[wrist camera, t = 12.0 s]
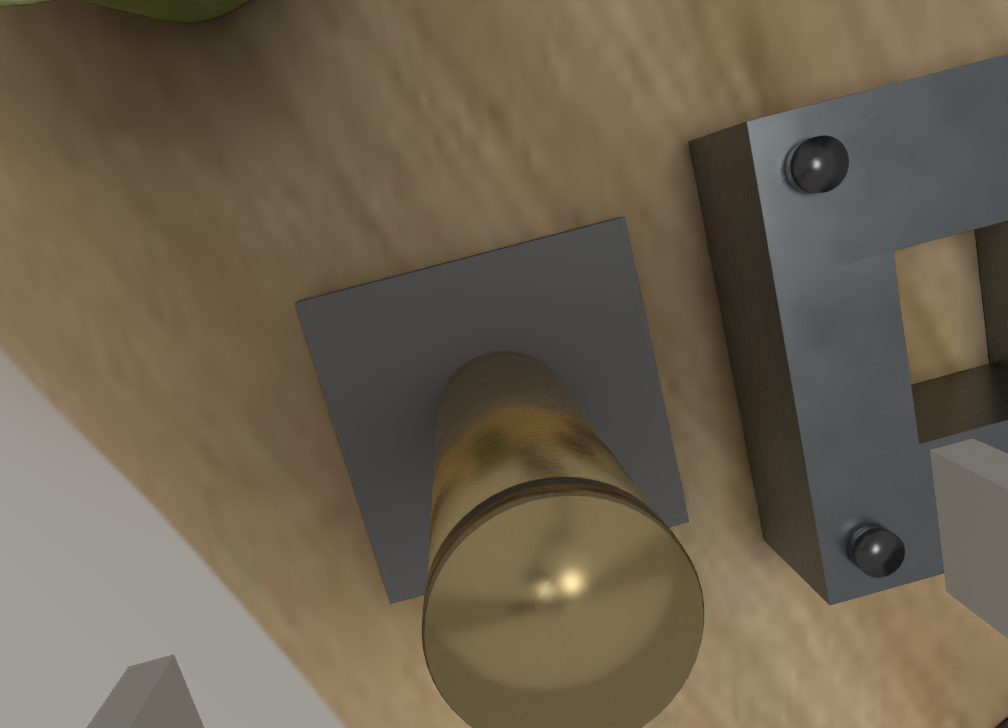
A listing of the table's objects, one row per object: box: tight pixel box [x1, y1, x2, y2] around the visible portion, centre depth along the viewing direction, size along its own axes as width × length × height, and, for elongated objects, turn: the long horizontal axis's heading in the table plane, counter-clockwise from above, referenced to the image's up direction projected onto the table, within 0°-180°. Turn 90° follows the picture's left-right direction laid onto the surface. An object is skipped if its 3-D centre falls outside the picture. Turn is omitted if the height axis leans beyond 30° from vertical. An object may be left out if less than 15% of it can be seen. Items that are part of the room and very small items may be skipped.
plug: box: [422, 351, 704, 728], centre depth 19 cm, size 5×5×14 cm
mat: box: [295, 217, 689, 604], centre depth 27 cm, size 12×12×1 cm
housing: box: [689, 54, 1008, 605], centre depth 25 cm, size 16×14×6 cm
